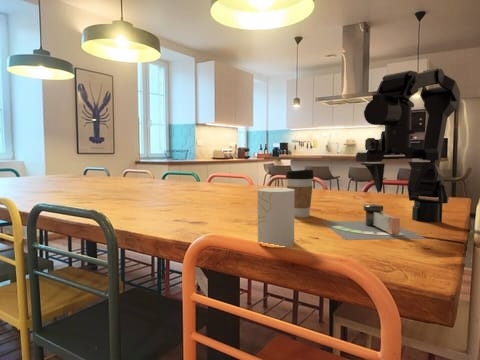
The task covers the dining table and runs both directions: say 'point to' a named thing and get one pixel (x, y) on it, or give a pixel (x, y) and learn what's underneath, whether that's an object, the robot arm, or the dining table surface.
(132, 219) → the dining table surface
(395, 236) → the dial board
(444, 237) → the dining table surface
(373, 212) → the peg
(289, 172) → the coffee cup
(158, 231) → the dining table surface
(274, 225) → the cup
